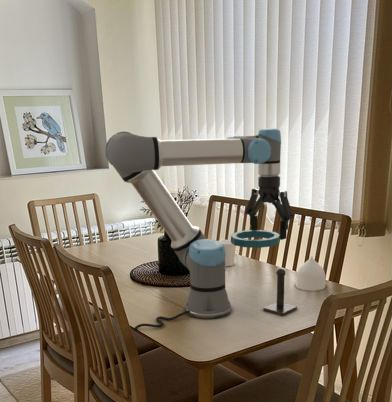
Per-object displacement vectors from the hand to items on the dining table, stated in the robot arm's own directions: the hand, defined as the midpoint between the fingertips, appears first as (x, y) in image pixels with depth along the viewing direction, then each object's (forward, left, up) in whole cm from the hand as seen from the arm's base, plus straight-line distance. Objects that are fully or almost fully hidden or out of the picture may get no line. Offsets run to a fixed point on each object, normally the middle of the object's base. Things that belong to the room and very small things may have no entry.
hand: (268, 236), depth 196 cm
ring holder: (-14, -15, -20) cm, 29 cm away
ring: (-8, 0, -1) cm, 8 cm away
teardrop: (+14, -9, -21) cm, 27 cm away
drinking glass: (+17, +35, -20) cm, 44 cm away
